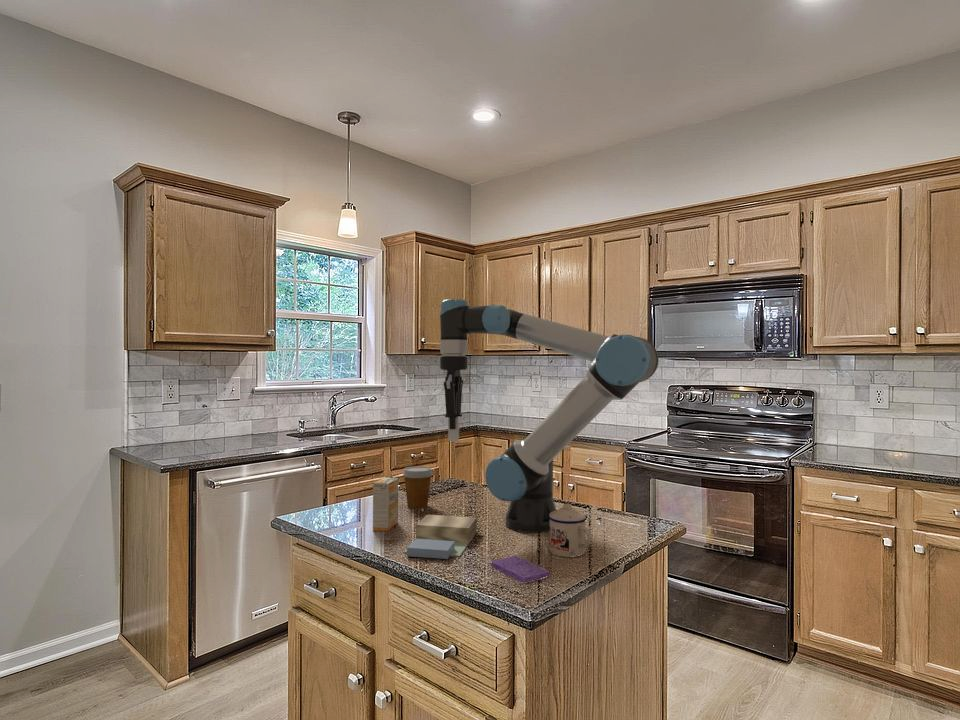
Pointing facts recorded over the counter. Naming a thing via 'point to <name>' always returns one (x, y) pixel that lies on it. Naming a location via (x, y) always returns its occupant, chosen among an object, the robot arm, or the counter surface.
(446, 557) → the blue-grey rectangular block
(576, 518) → the teacup with lid
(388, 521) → the supplement box
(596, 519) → the counter surface
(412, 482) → the disposable coffee cup
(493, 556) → the counter surface
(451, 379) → the robot arm
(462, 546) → the mat
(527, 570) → the sponges
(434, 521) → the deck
